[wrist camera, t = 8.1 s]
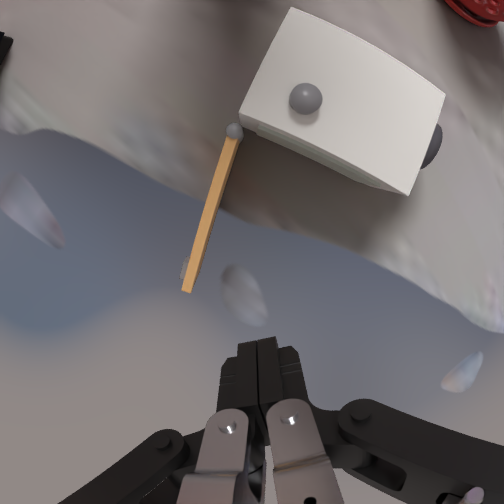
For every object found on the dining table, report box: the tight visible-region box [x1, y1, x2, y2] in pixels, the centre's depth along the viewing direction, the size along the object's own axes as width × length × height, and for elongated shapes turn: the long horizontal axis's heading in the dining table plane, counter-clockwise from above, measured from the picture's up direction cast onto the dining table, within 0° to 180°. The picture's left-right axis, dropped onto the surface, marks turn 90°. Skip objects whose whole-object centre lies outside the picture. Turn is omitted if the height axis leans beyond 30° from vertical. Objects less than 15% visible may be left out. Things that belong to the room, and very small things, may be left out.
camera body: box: [239, 7, 446, 196], centre depth 21 cm, size 9×15×9 cm, turn 67°
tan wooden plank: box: [179, 123, 244, 293], centre depth 25 cm, size 2×14×5 cm, turn 162°
